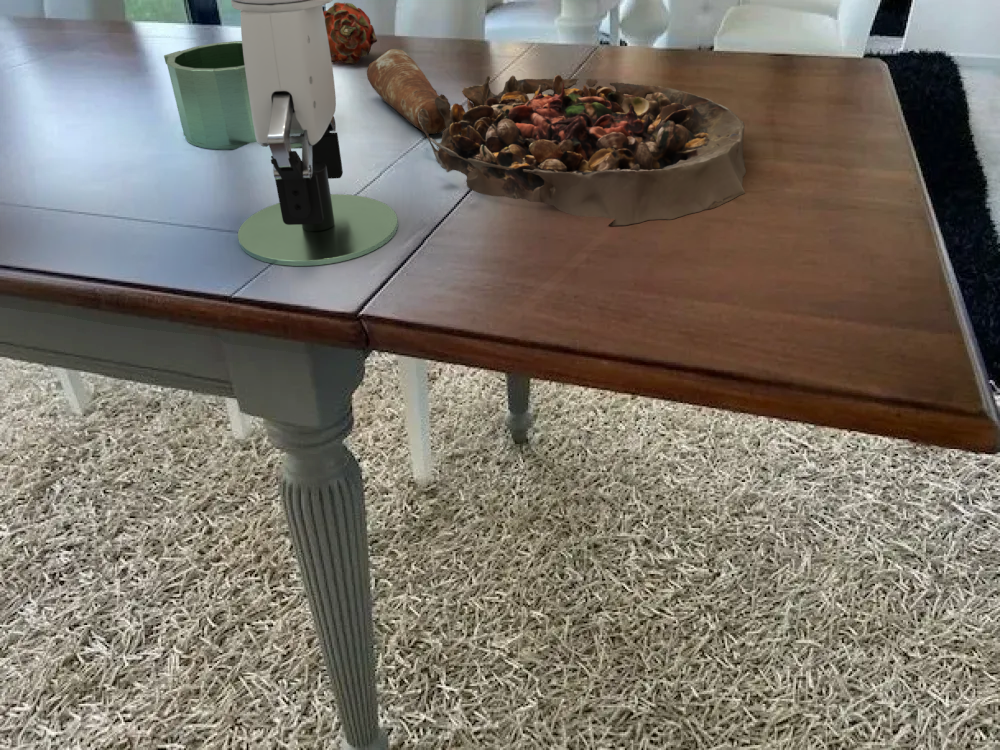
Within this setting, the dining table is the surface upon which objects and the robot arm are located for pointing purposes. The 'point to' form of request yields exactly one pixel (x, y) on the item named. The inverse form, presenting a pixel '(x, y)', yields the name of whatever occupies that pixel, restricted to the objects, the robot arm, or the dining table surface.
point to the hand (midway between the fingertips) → (315, 198)
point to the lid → (320, 230)
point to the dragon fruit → (348, 32)
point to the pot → (212, 95)
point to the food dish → (594, 148)
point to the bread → (405, 88)
